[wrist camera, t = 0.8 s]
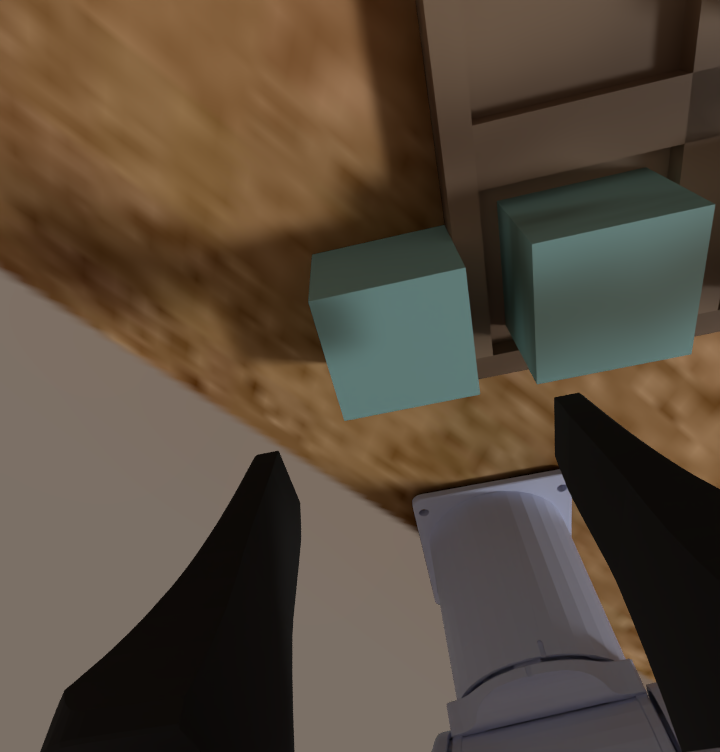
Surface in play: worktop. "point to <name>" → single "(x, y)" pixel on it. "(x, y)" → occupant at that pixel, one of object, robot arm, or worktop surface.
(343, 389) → the teal block
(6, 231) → the worktop surface
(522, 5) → the puzzle tray
